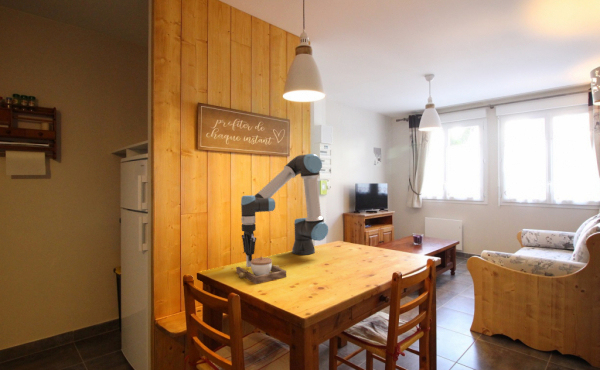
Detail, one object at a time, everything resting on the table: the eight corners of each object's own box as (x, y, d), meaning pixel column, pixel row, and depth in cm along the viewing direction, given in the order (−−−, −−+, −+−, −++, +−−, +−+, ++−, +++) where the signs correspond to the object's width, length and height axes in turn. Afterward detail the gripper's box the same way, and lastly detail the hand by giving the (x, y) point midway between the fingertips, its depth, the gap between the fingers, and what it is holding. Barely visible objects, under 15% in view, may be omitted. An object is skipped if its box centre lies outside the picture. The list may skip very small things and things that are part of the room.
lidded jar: (269, 279, 146) (268, 260, 146) (248, 278, 148) (247, 259, 148) (274, 272, 157) (274, 254, 157) (254, 271, 158) (254, 254, 158)
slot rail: (268, 266, 168) (268, 260, 168) (290, 275, 151) (290, 269, 150) (231, 273, 155) (231, 267, 155) (250, 285, 138) (250, 278, 138)
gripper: (237, 223, 166) (237, 265, 166) (247, 225, 156) (248, 270, 156) (249, 221, 171) (249, 262, 171) (260, 224, 160) (261, 267, 161)
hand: (249, 266), depth 164 cm, fingers closed
